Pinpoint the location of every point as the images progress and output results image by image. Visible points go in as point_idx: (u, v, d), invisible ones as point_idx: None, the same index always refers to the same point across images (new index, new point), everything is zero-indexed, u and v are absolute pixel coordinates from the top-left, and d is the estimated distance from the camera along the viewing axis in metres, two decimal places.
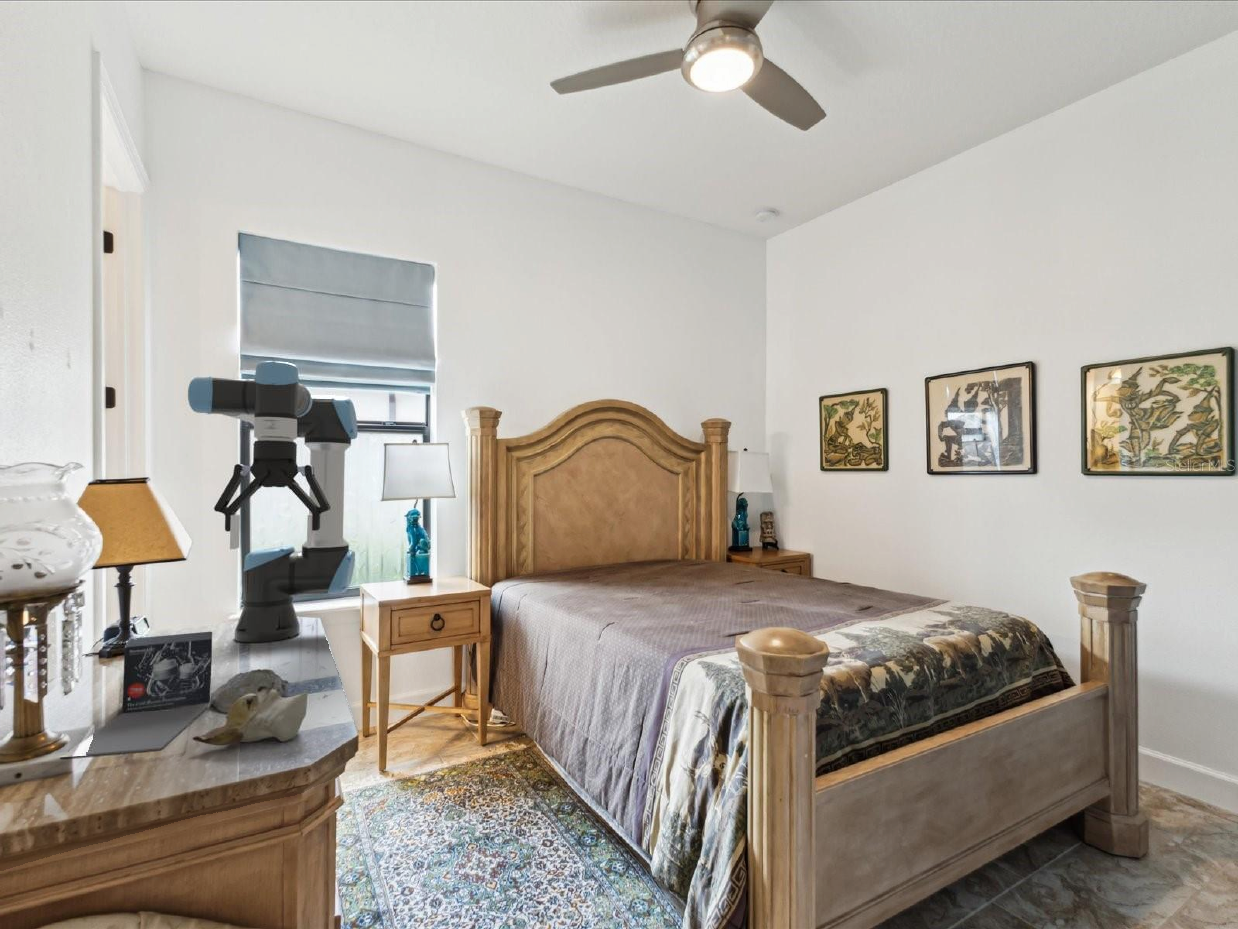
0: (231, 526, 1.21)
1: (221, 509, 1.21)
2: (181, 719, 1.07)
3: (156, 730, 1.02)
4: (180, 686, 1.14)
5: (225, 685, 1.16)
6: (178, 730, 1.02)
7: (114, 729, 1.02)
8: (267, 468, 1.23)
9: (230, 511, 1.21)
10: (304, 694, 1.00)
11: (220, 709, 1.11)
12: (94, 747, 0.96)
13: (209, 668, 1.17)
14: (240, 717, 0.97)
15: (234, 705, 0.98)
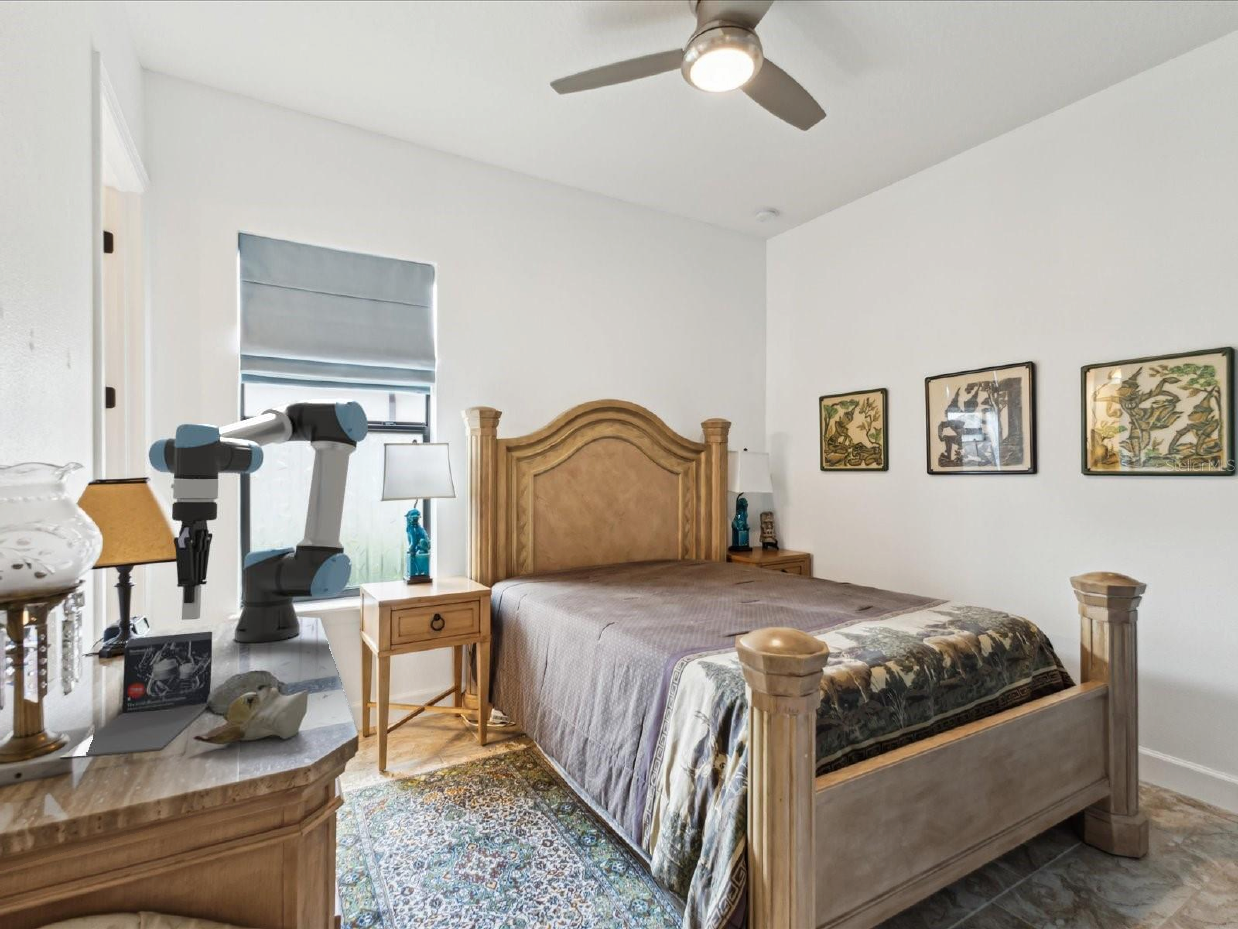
0: None
1: None
2: (181, 719, 1.07)
3: (156, 730, 1.02)
4: (180, 686, 1.14)
5: (222, 685, 1.16)
6: (178, 730, 1.02)
7: (114, 729, 1.02)
8: None
9: None
10: (305, 692, 1.02)
11: (215, 710, 1.11)
12: (94, 747, 0.96)
13: (209, 668, 1.17)
14: (241, 715, 0.97)
15: (235, 704, 0.99)
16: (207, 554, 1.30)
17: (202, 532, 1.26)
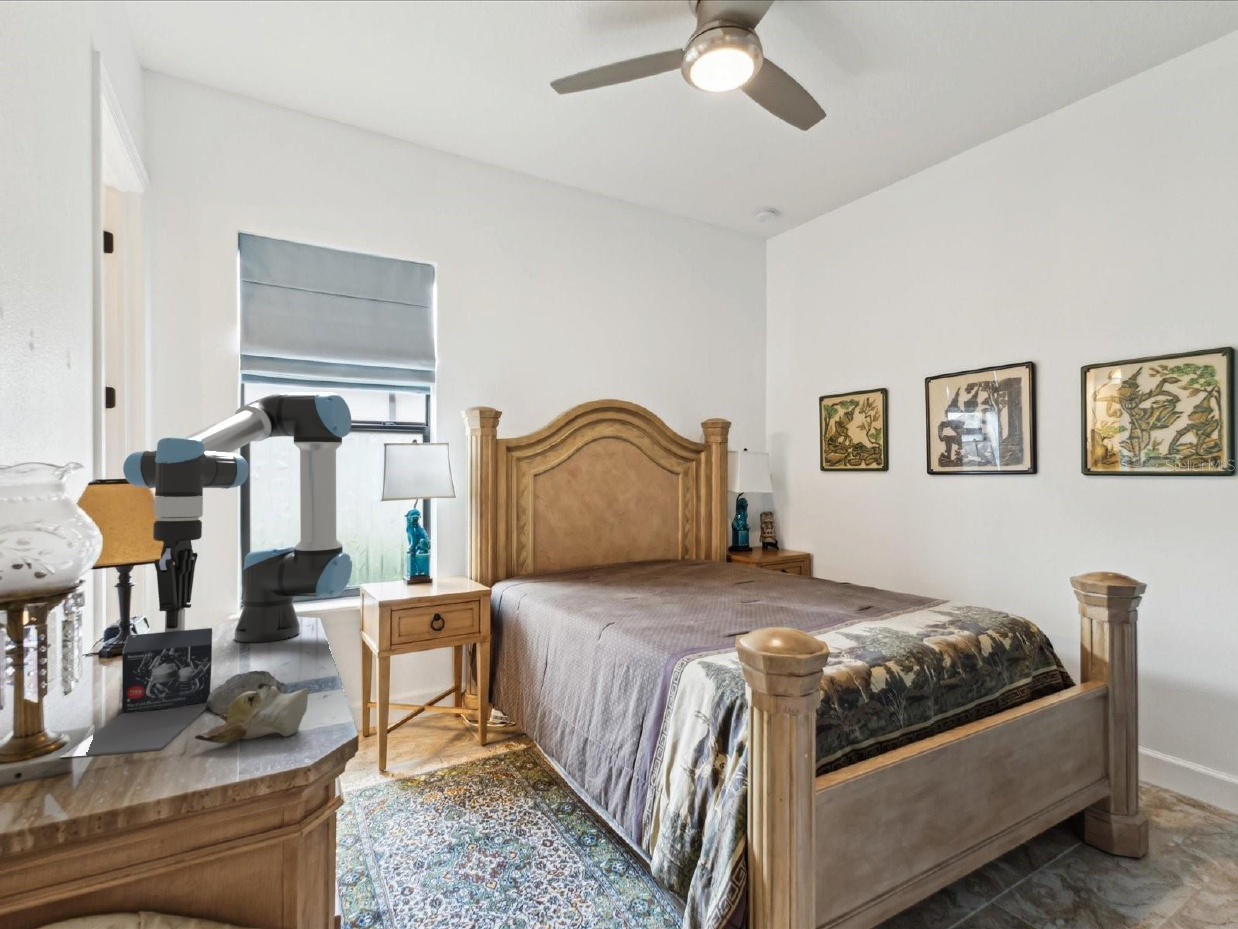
0: None
1: None
2: (181, 719, 1.07)
3: (156, 730, 1.02)
4: (180, 687, 1.13)
5: (222, 685, 1.16)
6: (178, 730, 1.02)
7: (114, 729, 1.02)
8: None
9: None
10: (305, 690, 1.03)
11: (214, 710, 1.11)
12: (94, 747, 0.96)
13: (209, 671, 1.15)
14: (243, 714, 0.98)
15: (235, 703, 0.99)
16: (192, 575, 1.23)
17: (185, 553, 1.18)
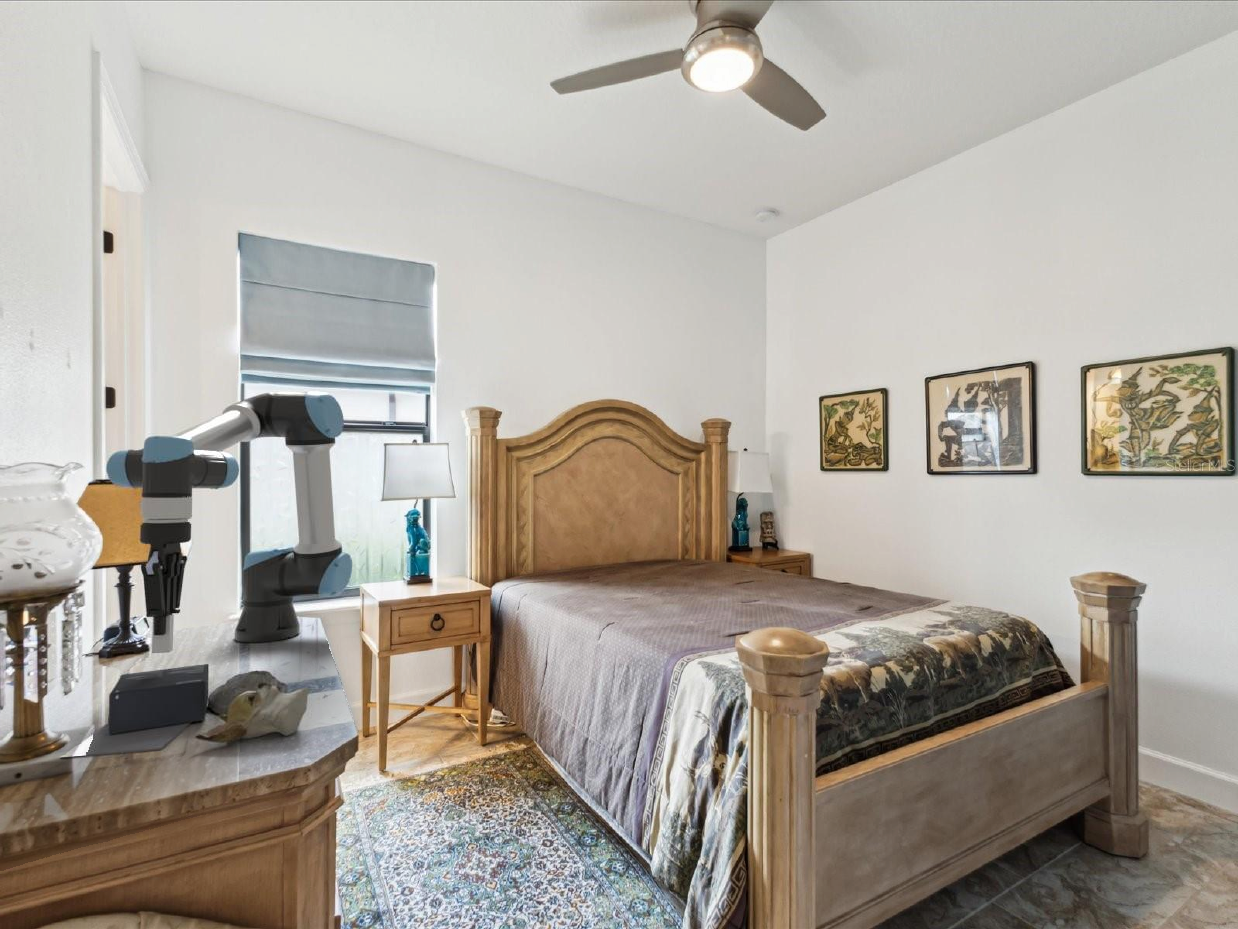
0: None
1: None
2: None
3: (156, 730, 1.02)
4: None
5: (223, 685, 1.16)
6: (178, 730, 1.02)
7: None
8: None
9: None
10: (305, 689, 1.03)
11: (215, 710, 1.11)
12: (94, 747, 0.96)
13: None
14: (243, 714, 0.98)
15: (235, 702, 0.99)
16: (181, 579, 1.18)
17: (174, 556, 1.13)
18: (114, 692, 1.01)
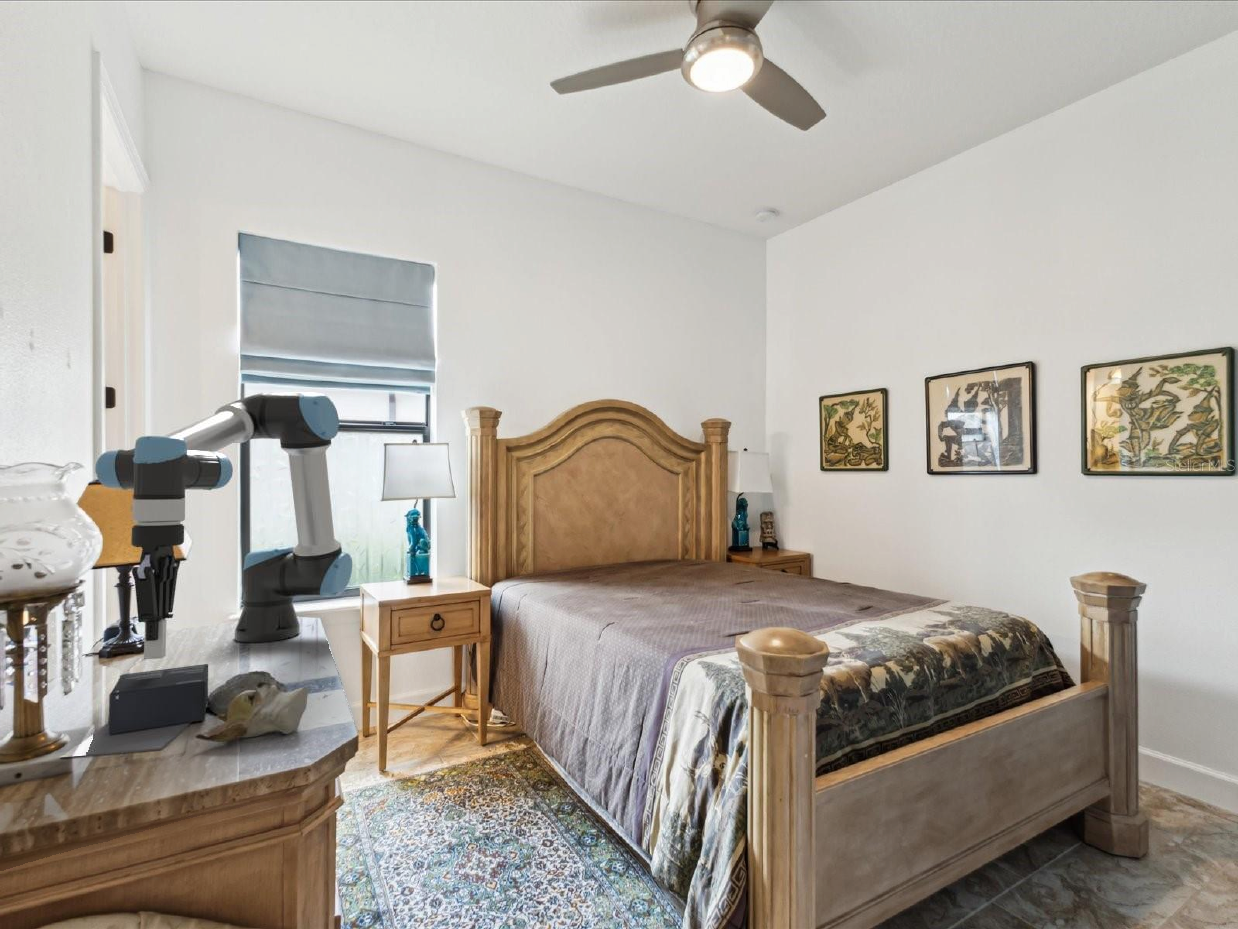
0: None
1: None
2: None
3: (156, 730, 1.02)
4: None
5: (223, 685, 1.16)
6: (178, 730, 1.02)
7: None
8: None
9: None
10: (305, 688, 1.04)
11: (213, 711, 1.11)
12: (94, 747, 0.96)
13: None
14: (243, 713, 0.99)
15: (235, 702, 0.99)
16: (174, 583, 1.15)
17: (166, 559, 1.10)
18: (114, 692, 1.01)
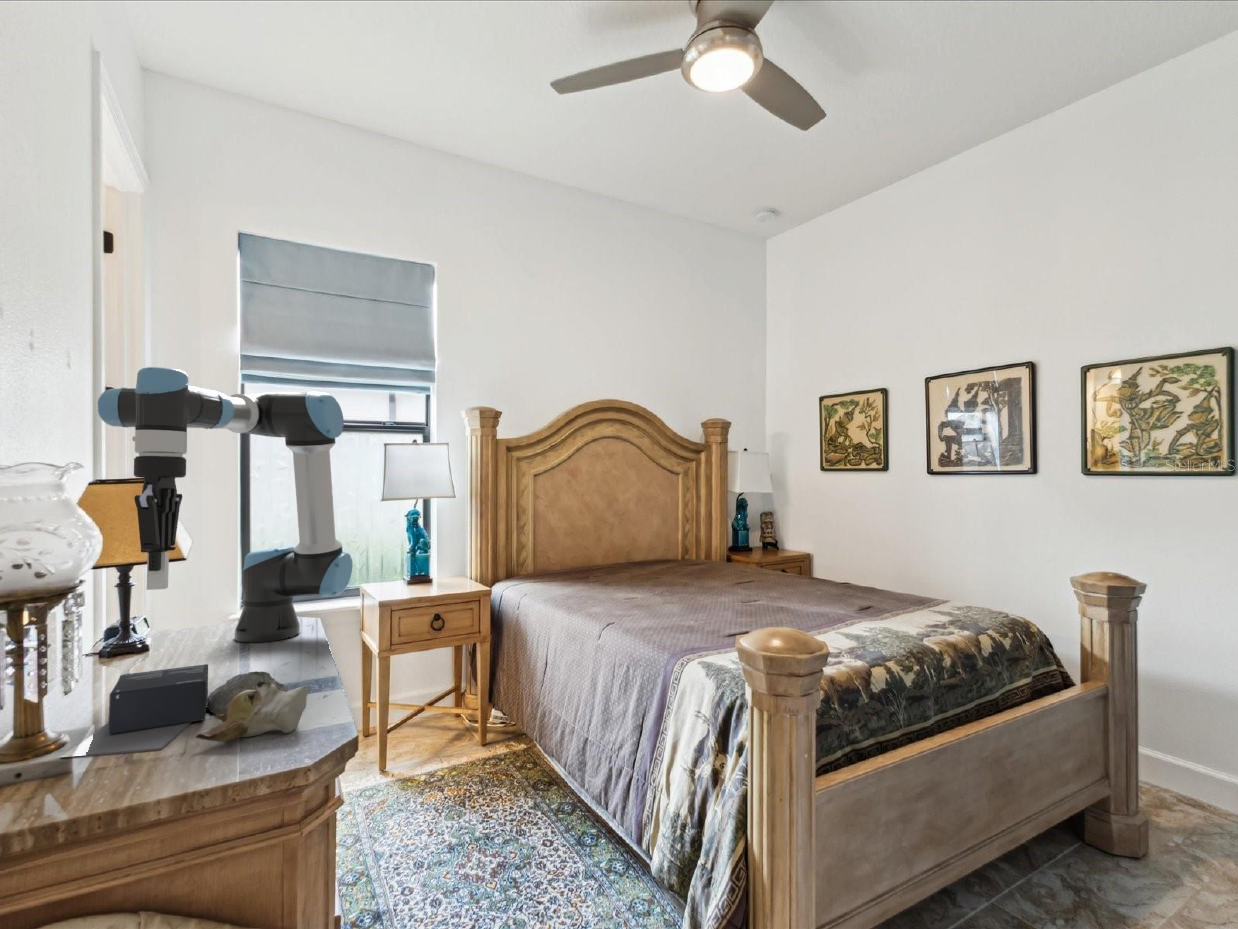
0: None
1: None
2: None
3: (156, 730, 1.02)
4: None
5: (223, 686, 1.16)
6: (178, 730, 1.02)
7: None
8: None
9: None
10: (305, 687, 1.04)
11: (212, 711, 1.10)
12: (94, 747, 0.96)
13: None
14: (244, 712, 0.99)
15: (235, 701, 1.00)
16: (176, 517, 1.15)
17: (169, 491, 1.11)
18: (114, 692, 1.01)
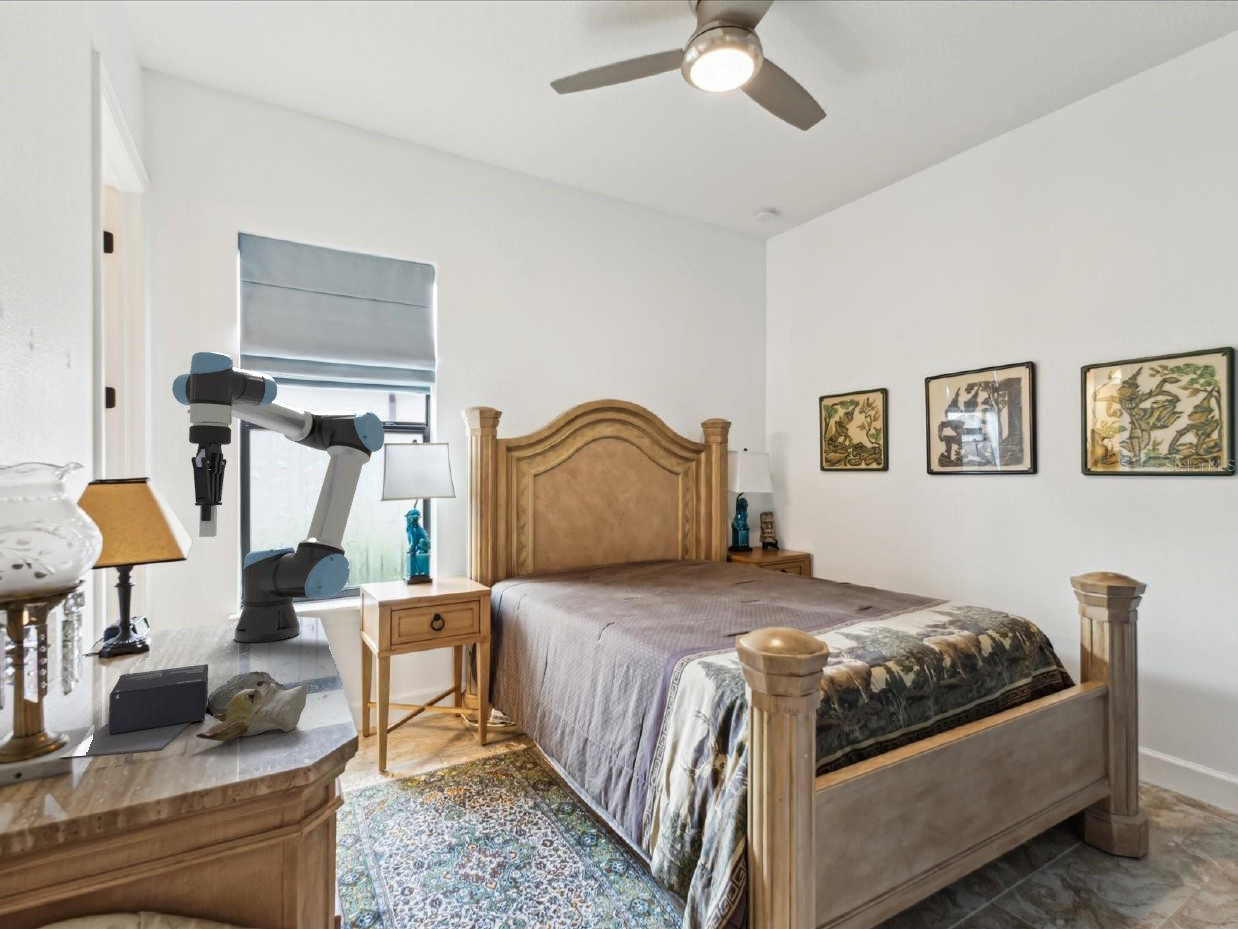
0: None
1: None
2: None
3: (156, 730, 1.02)
4: None
5: (223, 685, 1.16)
6: (178, 730, 1.02)
7: None
8: None
9: None
10: (305, 685, 1.05)
11: (212, 711, 1.10)
12: (94, 747, 0.96)
13: None
14: (244, 711, 0.99)
15: (235, 701, 1.00)
16: (222, 478, 1.38)
17: (217, 455, 1.33)
18: (114, 692, 1.01)
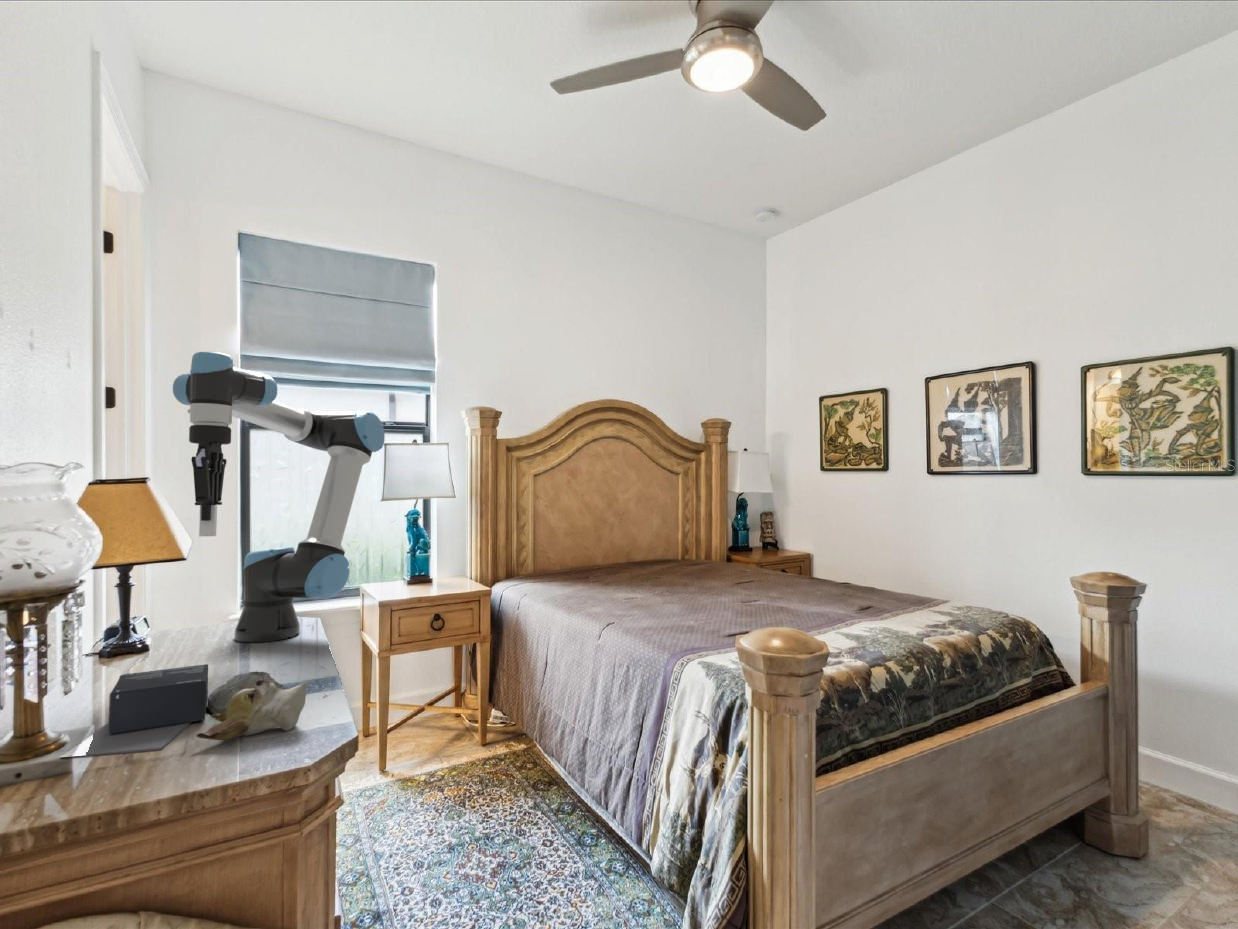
0: None
1: None
2: None
3: (156, 730, 1.02)
4: None
5: (223, 685, 1.16)
6: (178, 730, 1.02)
7: None
8: None
9: None
10: (304, 684, 1.05)
11: (212, 711, 1.11)
12: (94, 747, 0.96)
13: None
14: (244, 711, 0.99)
15: (235, 700, 1.00)
16: (222, 477, 1.38)
17: (217, 454, 1.33)
18: (114, 692, 1.01)
